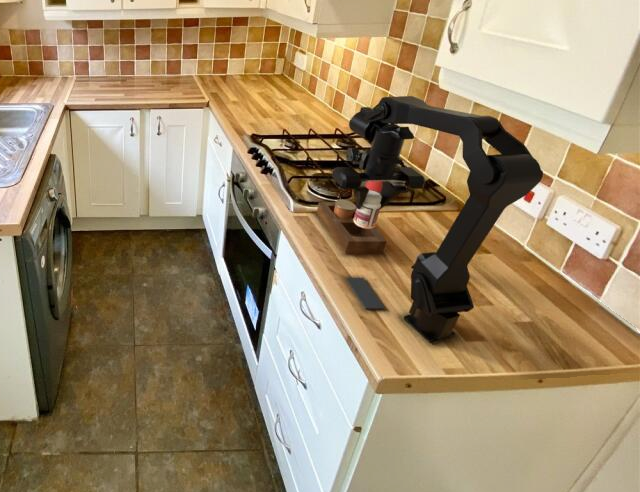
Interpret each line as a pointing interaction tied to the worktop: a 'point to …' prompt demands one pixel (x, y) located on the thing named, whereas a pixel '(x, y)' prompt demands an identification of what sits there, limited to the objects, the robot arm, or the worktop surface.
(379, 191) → the beer can
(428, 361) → the worktop surface
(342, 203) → the orange brown jar
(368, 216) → the pill bottle
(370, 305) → the slate mat
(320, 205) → the pod stand
